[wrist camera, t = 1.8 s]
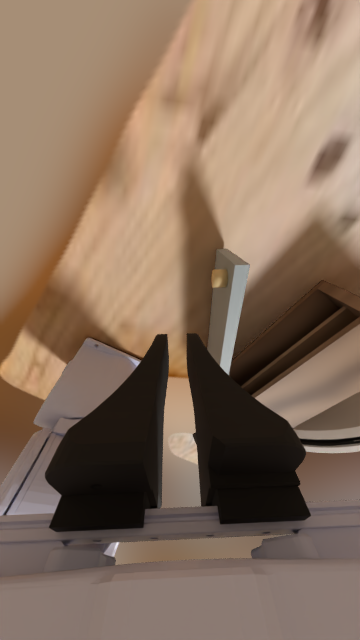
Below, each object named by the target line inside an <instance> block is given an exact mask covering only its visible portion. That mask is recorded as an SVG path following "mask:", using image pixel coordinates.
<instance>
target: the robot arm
mask: <svg viewBox="0 0 360 640" xmlns="http://www.w3.org/2000/svg"><path fill="white" fill-rule="evenodd" d="M96 344H97V345H96ZM187 370H188V377H189V383H190V388H191V394H192V400H193V406H194V413H195V414H194V415H195V425H196V439H197V452H198V465H199V479H200V494H201V507H181V508H160V507H161V505H162V457H163V456H162V454H163V422H164V405H165V397H166V389H167V381H168V373H169V355H168V338H167V334H158V335H157V336H156V337H155V339H154V341H153V343H152V345H151V347H150V348H149V350H148V351H147V353H146V355H145V356H144V358H143V359H142V360H139V359H137V358H135V357H133V356H130V355H128V354H126V353H124V352H121V351H119V350H117V349H114V348H112V347H110V346H108V345H105V344H103V343H101V342H99V341H96V340H94V339H92V338H86V340H85V341H84V343H83V345H82V346H81V348H80V349H79V351H78V352H77V354H76V355H75V356H74V358H73V359H72V360H70V361H69V363H68V364H67V366H66V367H65V369H64V371H63V373H62V375H61V377H60V378H59V380H58V381H57V383H56V384H55V386H54V387H53V389H52V390H51V392H50V394H49V395H48V397H47V398H46V400H45V402H44V403H43V405H42V407H41V409H40V410H39V412H38V414H37V416H36V418H35V420H34V424H36V425H38V426H41V427H43V429H42V431H41V430H40V431H38V432H36V433H34V435H33V436H32V437H31V439H30V440H29V442H28V443H27V445H26V446H25V448H24V450H23V451H22V453H21V454H20V456H19V457H18V459H17V461H16V462H15V464H14V465H13V467H12V469H11V470H10V472H9V473H8V475H7V476H6V478H5V480H4V481H3V483H2V484H1V486H0V640H360V500H339V501H317V502H305V501H304V498H303V496H302V494H301V492H300V489H299V487H298V486H299V485H300V481H299V479H298V476H297V474H296V472H295V470H296V469H297V468H298V466H299V465H300V464H301V463H302V461H303V460H304V458H305V455H306V450H305V448H304V446H303V444H302V443H301V441H300V439H299V437H298V436H297V434H296V432H295V431H294V429H293V428H292V427H291V425H290V424H289V422H288V421H287V420H286V419H284V418H283V417H281V416H280V415H278V414H277V413H275V412H274V411H272V410H270V409H269V408H267V407H266V406H265V405H263V404H262V403H260V402H259V401H258V400H256V399H255V398H254V397H252V396H251V395H250V394H249V393H248V392H246V391H245V390H244V389H243V388H242V387H240V386H239V385H238V384H237V383H236V382H235V381H234V380H233V379H232V378H231V377H230V376H229V375H228V374H227V373H226V372H225V371H224V370H223V369H222V368H221V367H220V365H219V364H218V363H217V362H216V361H215V359H214V358H213V357H212V356H211V354H210V353H209V352H208V350H207V349H206V347H205V346H204V344H203V343H202V341H201V339H200V337H199V336H198V334H197V333H194V334H187ZM50 432H51V433H50ZM283 534H291V535H286V536H280V537H274V538H268V539H263V541H262V545H261V546H260V547H257V548H255V549H253V550H252V551H251V556H252V558H246V559H245V558H243V559H197V560H176V561H160V562H146V563H134V564H124V565H115V562H116V560H115V557H114V555H115V552H116V549H117V547H118V545H119V542H137V541H158V540H179V539H200V538H220V537H240V536H262V535H283Z"/></svg>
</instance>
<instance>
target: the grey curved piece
mask: <svg viewBox="0 0 360 640" xmlns="http://www.w3.org/2000/svg"><path fill="white" fill-rule="evenodd" d="M293 429H294V431H295V432H296V434H297V436H298V437H299V439H300V441H301V443H302V444H303V446H304V448H305V450H306V451H308V452H318V453H345V452H356V451H360V392H358V393H356V394H354V395H352V396H350V397H349V398H347V399H345V400H343V401H341V402H339V403H338V404H336V405H334V406H332V407H330V408H328V409H327V410H325V411H323V412H321V413H319V414H317V415H316V416H314V417H312V418H310V419H308V420H306V421H305V422H303V423H301V424H299V425H297V426H295V427H294V428H293Z"/></svg>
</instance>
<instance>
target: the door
mask: <svg viewBox="0 0 360 640" xmlns="http://www.w3.org/2000/svg"><path fill="white" fill-rule="evenodd" d="M249 268H250V265H249V264H248V263H247V262H245V261H244V260H242V259H241V258H239V257H238V256H237V255H235V254H234V253H232V252H231V251H229V250H228V249H217V250H216V260H215V270H213V271H212V276H211V283H212V287H213V293H212V304H211V315H210V326H209V337H208V348H207V350H208V352H209V353H210V354H211V356H212V357H213V358H214V359H215V361H216V362H217V363H218V364H219V365H220V367H221V368H222V369H223V370H224V371H225V372H226V373H227V374H228V375H229V371H230V365H231V360H232V355H233V350H234V345H235V340H236V335H237V329H238V324H239V319H240V314H241V309H242V304H243V299H244V293H245V288H246V283H247V278H248V273H249Z"/></svg>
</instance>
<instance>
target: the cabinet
mask: <svg viewBox="0 0 360 640" xmlns="http://www.w3.org/2000/svg"><path fill="white" fill-rule="evenodd" d="M229 376H230V377H231V378H232V379H233V380H234V381H235V382H236V383H237V384H238V385H239V386H240V387H242V388H243V389H244V390H245V391H246V392H248V393H249V394H250V395H251V396H252V397H254V398H255V399H256V400H258V401H259V402H260V403H262V404H263V405H265V406H266V407H267V408H269V409H270V410H272V411H274V412H275V413H277V414H278V415H280V416H281V417H283V418H284V419H286V420H287V421H288V422H289V424H290V425H291V427H292V428H294V427H295V426H297V425H299V424H301V423H303V422H305V421H306V420H308V419H310V418H312V417H314V416H316V415H317V414H319V413H321V412H323V411H325V410H327V409H328V408H330V407H332V406H334V405H336V404H338V403H339V402H341V401H343V400H345V399H347V398H349V397H350V396H352V395H354V394H356V393H358V392H360V297H359V296H357V295H354V294H352V293H350V292H348V291H346V290H343V289H341V288H339V287H337V286H335V285H333V284H330V283H328V282H326V281H324V280H322V281H321V282H320V283H318V284H317V285H316V286H315V287H314V288H313V289H312V290H311V291H310V292H308V293H307V294H306V295H305V296H304V297H303V298H302V299H301V300H299V301H298V302H297V303H296V304H295V305H294V306H293V307H292V308H290V309H289V310H288V311H287V312H286V313H285V314H284V315H283V316H282V317H280V318H279V319H278V320H277V321H276V322H275V323H274V324H273V325H271V326H270V327H269V328H268V329H267V330H266V331H265V332H264V333H263V334H261V335H260V336H259V337H258V338H257V339H256V340H255V341H254V342H252V343H251V344H250V345H249V346H248V347H247V348H246V349H245V350H244V351H242V352H241V353H240V354H239V355H238V356H237V357H236V358H235V359H233V360H232V361H231V365H230V371H229Z"/></svg>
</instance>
